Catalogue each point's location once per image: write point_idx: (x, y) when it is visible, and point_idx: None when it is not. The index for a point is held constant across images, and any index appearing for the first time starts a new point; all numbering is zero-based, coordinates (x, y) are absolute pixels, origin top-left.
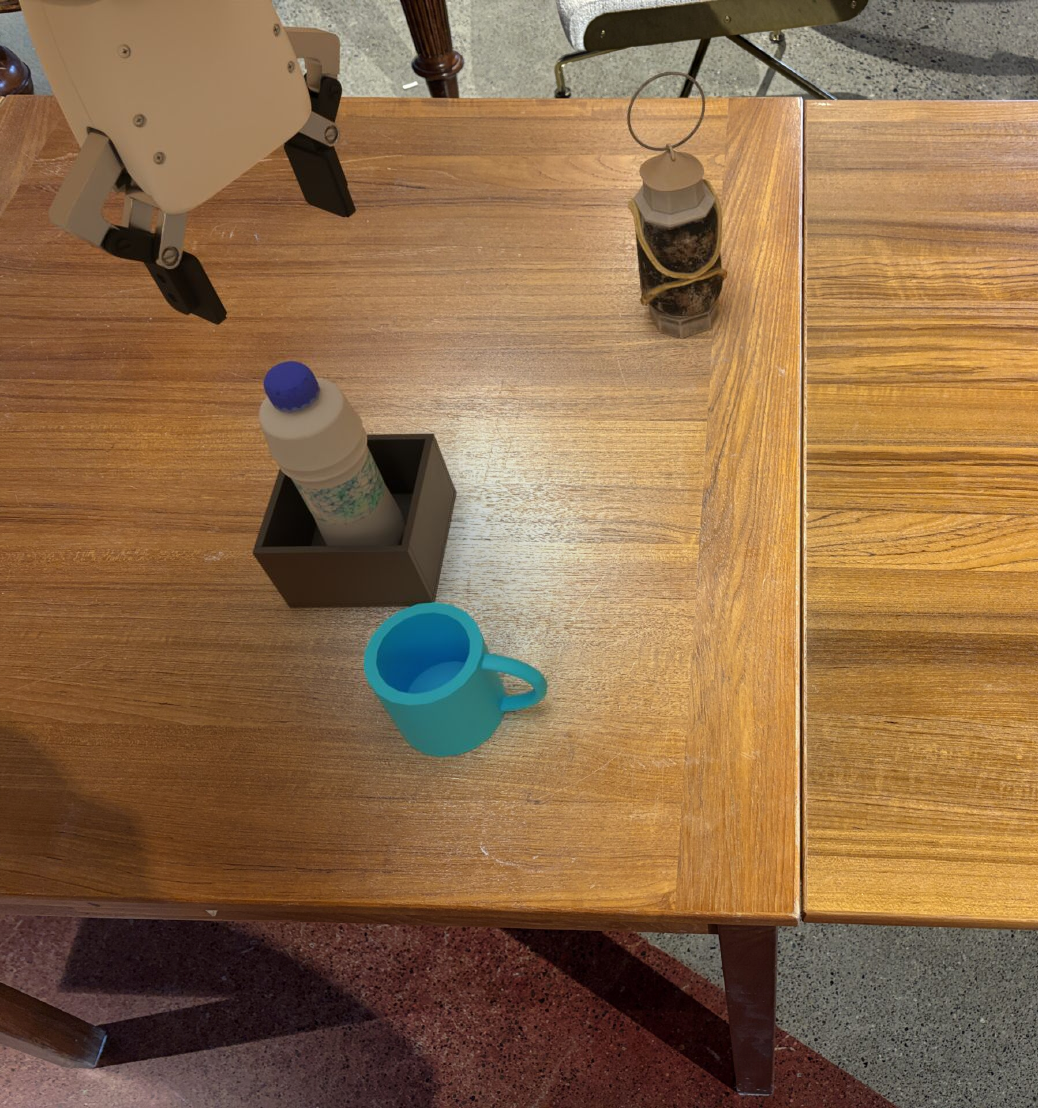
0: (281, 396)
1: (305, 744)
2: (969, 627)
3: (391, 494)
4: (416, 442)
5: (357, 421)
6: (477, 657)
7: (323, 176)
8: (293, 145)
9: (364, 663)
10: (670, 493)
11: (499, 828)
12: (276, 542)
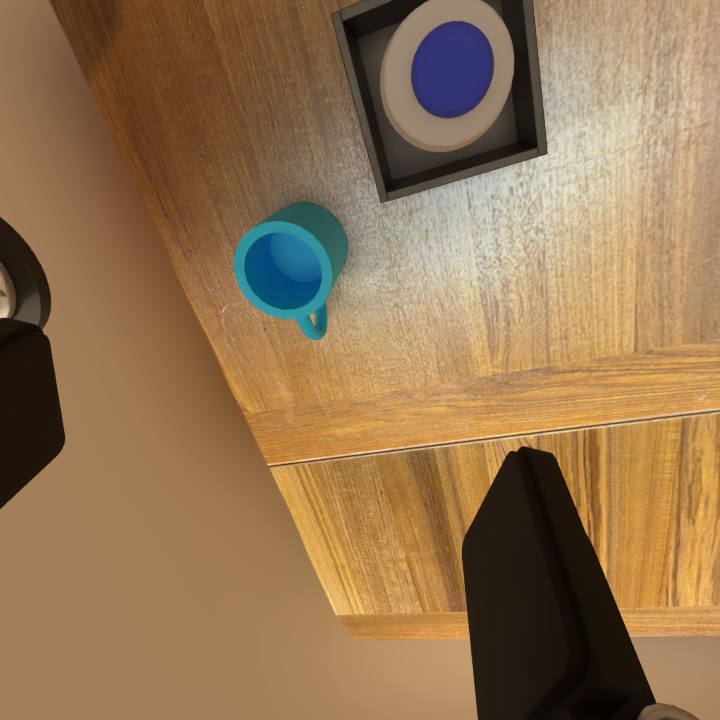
0: (413, 84)
1: (234, 140)
2: (453, 521)
3: None
4: (534, 133)
5: (469, 142)
6: (294, 317)
7: (484, 652)
8: (561, 692)
9: (254, 228)
10: (543, 343)
11: (240, 313)
12: (371, 16)
